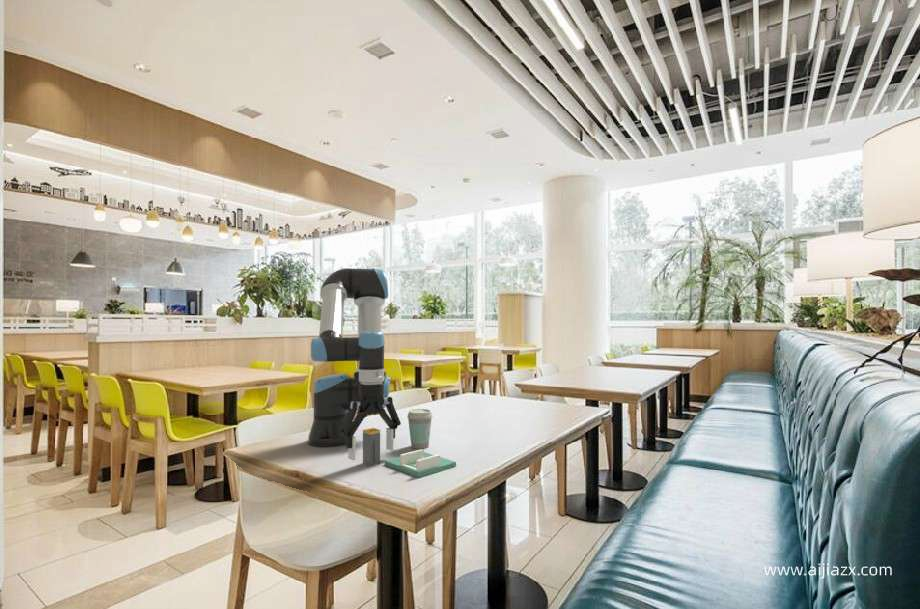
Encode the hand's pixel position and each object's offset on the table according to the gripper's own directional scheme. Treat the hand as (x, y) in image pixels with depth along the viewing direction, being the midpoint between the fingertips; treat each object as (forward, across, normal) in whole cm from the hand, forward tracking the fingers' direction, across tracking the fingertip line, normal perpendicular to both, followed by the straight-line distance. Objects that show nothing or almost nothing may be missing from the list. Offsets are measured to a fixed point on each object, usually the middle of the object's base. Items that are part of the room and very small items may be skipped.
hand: (371, 454), depth 140 cm
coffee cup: (+3, +22, +4) cm, 23 cm away
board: (+3, +9, -12) cm, 15 cm away
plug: (+3, 0, 0) cm, 3 cm away
